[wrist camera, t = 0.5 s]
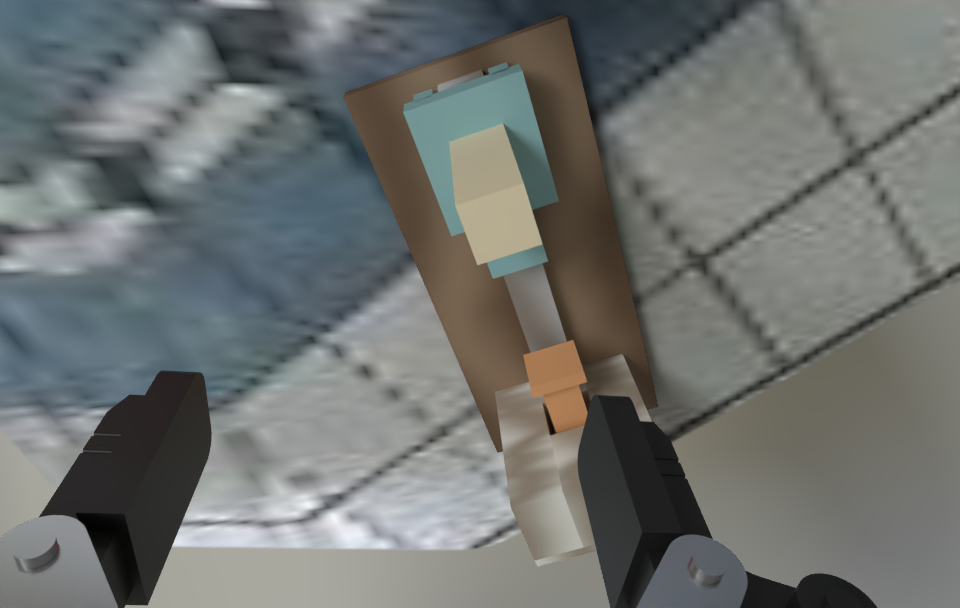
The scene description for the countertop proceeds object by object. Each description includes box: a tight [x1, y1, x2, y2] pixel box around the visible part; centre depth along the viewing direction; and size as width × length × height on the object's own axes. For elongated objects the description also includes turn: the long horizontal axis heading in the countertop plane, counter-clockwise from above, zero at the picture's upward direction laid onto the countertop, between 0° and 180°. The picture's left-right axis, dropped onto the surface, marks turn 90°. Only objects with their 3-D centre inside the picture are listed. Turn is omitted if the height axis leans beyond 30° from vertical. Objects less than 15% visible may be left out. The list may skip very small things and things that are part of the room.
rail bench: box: [344, 14, 658, 566], centre depth 36 cm, size 12×27×11 cm, turn 18°
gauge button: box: [523, 340, 588, 434], centre depth 40 cm, size 3×6×3 cm, turn 18°
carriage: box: [403, 62, 559, 279], centre depth 31 cm, size 6×9×11 cm, turn 18°
